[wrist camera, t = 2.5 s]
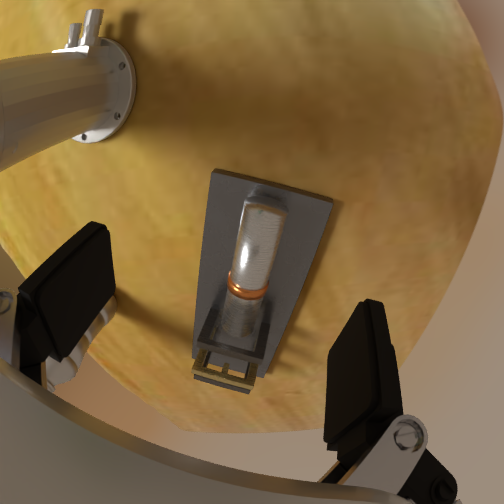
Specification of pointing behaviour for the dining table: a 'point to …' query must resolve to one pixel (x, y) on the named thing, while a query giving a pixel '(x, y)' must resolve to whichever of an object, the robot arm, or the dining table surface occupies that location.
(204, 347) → the collar
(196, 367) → the aperture bridge
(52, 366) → the plastic bottle
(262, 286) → the tube
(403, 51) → the dining table surface
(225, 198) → the plate
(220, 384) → the collar
